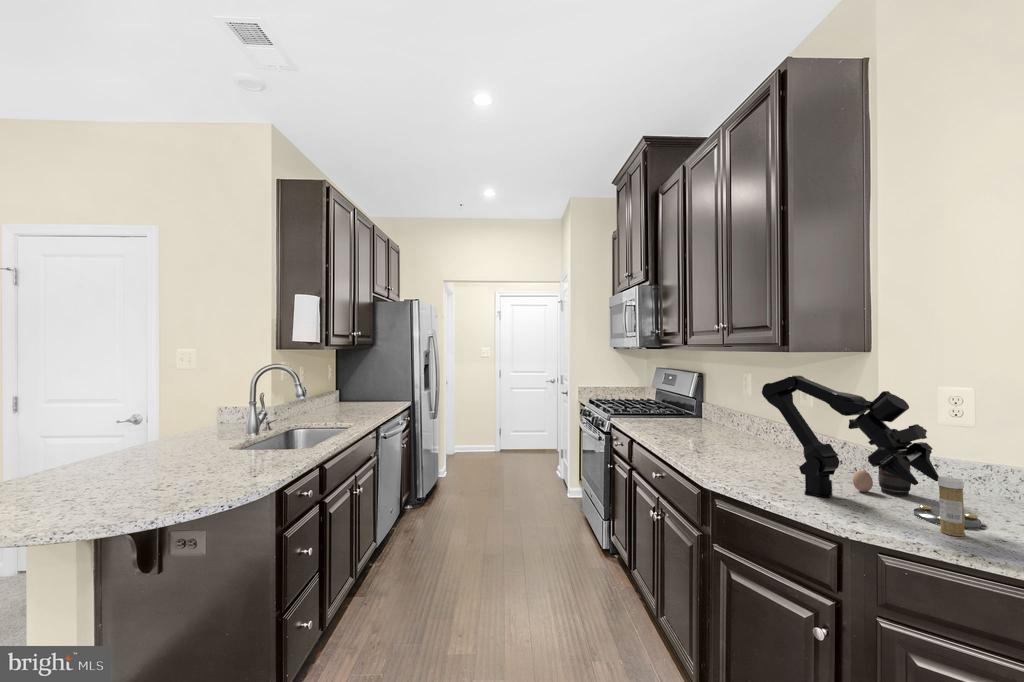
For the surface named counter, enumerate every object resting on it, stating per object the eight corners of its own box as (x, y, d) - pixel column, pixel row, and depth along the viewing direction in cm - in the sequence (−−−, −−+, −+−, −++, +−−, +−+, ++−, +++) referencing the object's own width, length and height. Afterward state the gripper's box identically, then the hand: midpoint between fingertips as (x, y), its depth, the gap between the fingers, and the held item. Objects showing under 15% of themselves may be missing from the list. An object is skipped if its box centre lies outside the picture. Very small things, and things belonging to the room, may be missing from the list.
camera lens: (918, 498, 139) (917, 448, 139) (888, 496, 140) (886, 447, 141) (901, 490, 147) (900, 443, 147) (873, 488, 148) (871, 442, 149)
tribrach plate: (915, 521, 120) (915, 514, 120) (912, 507, 130) (912, 501, 130) (985, 533, 112) (985, 525, 112) (976, 518, 122) (976, 511, 122)
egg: (864, 489, 148) (863, 468, 148) (877, 494, 143) (876, 472, 143) (848, 489, 148) (848, 468, 148) (861, 494, 143) (860, 472, 143)
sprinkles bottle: (967, 534, 111) (965, 479, 111) (962, 538, 108) (960, 482, 109) (942, 528, 115) (940, 475, 115) (937, 532, 112) (935, 477, 112)
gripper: (878, 416, 118) (932, 468, 108) (922, 412, 125) (976, 461, 114) (848, 441, 125) (895, 492, 115) (890, 436, 132) (939, 484, 121)
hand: (927, 482), depth 116 cm, fingers open, 9 cm apart
